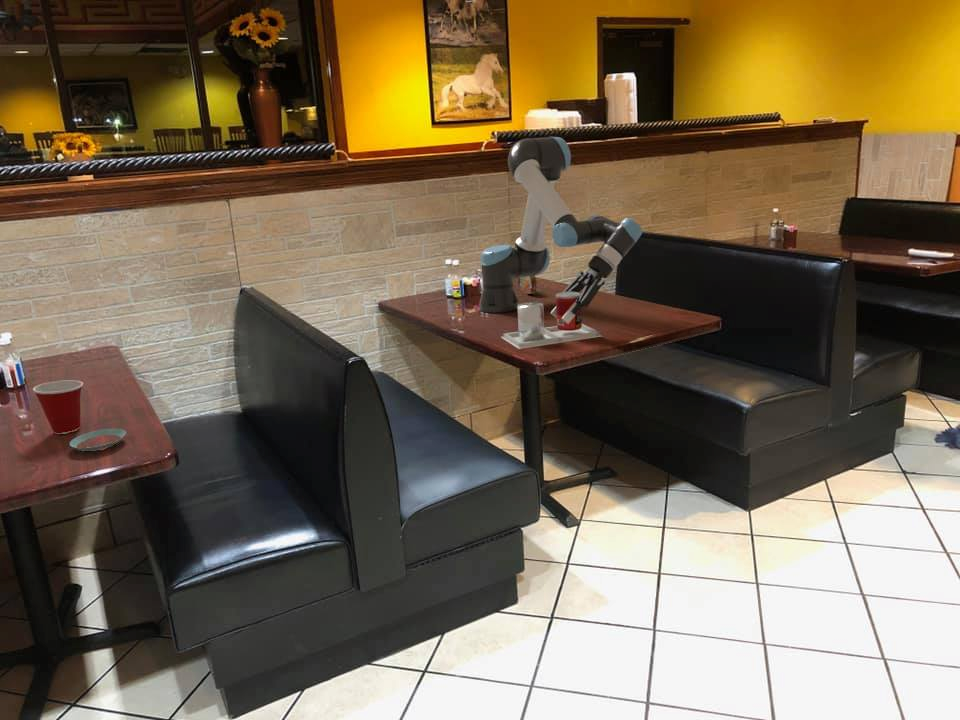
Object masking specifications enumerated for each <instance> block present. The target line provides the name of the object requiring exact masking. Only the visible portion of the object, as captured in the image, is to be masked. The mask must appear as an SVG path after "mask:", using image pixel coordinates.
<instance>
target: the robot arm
mask: <svg viewBox="0 0 960 720" xmlns="http://www.w3.org/2000/svg"><path fill="white" fill-rule="evenodd" d="M571 157H572V156H571V150H570V148H569V144H568V143H567V142H566V140H564V139H563V138H562V137H558V136H548V137H536V138H535V137H534V138H532V137H531V138H524V139H520V140H518V141H517V142H515V143H514V144H513V146H512V147H511V149H510V150H509V153H508V156H507V164H508V168H509V172H510V174H511V176H512V178H514V180H515V181H516V182H517V183H521V185H522V186H523V188H524V189H525V190H526V191H527V193H528V194H527V199H526V200H527V201H526V205H525V209H524V217H523V221H522V229H521V233H520V236H519V237H517V238H516V240H515V244H514V247H512V246H511V245H510V244H500V245H493V246H489V247H487V248H485V249H484V250H483V251H482V252H481V254H480V255H481V256H480V257H481V258H480V266H481V277H482V278H481V279H482V293H481V294H480V296H481V297H480V298H479V304H478V305H479V306H478V307H479V311H481V312H483V313H507V312H513V311H516V310H518V307H517V306H518V305H519V304H520V302H519V301H520V300H519V299H518V296H517V294H516V291H515V287H514V279H519V278H521V277H527V276H535V277H536V276H537V275H541V274H543V273H545V272H546V270H547V269H548V267H549V266H550V260H551V257H550V251H549V248H548V247H547V243H546V242H545V240H544V238H545V233H546V227H547V223H548V222H549V224H550V225H551V227H552V231H551V232H552V239H553V243H554V244H555V245H556V246H557V247H558V248H572V247H575V246H580V245H581V246H582V245H588V244H589V245H590V244H595V243H596V244H597V243H603V244H602V245H601V247H600V248H599V249H598V250H597V251H596V253H595V254H596V255H593V257H592V258H591V259H590V260H589V262H588V263H587V266H588V267H589V268H588V269H587V270H586V271H585V272H584V271H583V270H581V271H579V272H578V274H577V276H576V277H575V278H574V279H572V281H571V282H570V283H569V284H568V285H567V286H566V287H565V288H564V290H563V291H562V292H578V293H581V295H580V297H579V299H578V300H575V302H574V303H573V305H572V306H571V307H570V308H569V310H568V311H567V312H566V313H565V315H564V316H563V317H562V319H563V320H564V321H565V322H566V323H567V324H569V322H570V321H571V320H572V319H573V317H574V316H575V315H576V314H577V313H578V311H579V310H580V309H581V307H582V308H585V307H586V308H588V306H590V304H591V302H592V301H593V299H594V298H595V297H596V295H597V294H598V292H599V290H600V289H601V288H602V287H603V286H604V285H605V283H606V282H605V281H604V279H608V278H609V276H610V275H611V273H613V271H614V269H615V268H616V267H617V266H618V265H619V264H620V262H621V260H623V258H624V257H625V256H626V255H627V254H628V252H629V251H630V250H631V249H632V248H633V246H634V245H635V244H637V241H638V240H639V238H640V237H641V236H642V234H643V229H642V227H641V226H640V225H639V224H638V222H637V221H636V220H633V219H632V218H630V217H625V218H623V219H622V220H621V221H620V222H616V221H614V220H612V219H611V218H608V217H607V216H603V215H598V214H595V215H592V216H590V217H589V218H588V219H584V220H578V219H577V218H576V217H575V216H574V215H573V213H572V212H571V210H570V209H569V207H568V206H567V205H566V203H565V202H564V200H563V199H562V198H561V197H560V195H559V194H558V192H557V191H556V189H554V187H555V183H556V182H558V181H559V180H560V179H561V175H562V172H563V171H566V170H567V169H568V168H569V167H570V165H571V159H572V158H571ZM576 302H577V303H576ZM515 309H516V310H515ZM512 310H513V311H512ZM550 314H551V315H552V316H554V317H553V318H556V319H557V315H556V306H555V307H554V308H553V309H552V310H551V312H550Z"/></svg>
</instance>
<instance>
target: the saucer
mask: <svg viewBox="0 0 960 720" xmlns="http://www.w3.org/2000/svg"><path fill="white" fill-rule="evenodd" d="M126 434H127V431H126V430H124V429H120V428H106V429H105V428H104V429H98V430H94V431H90V432H87V433H83V434H81V435H79V436H77V437H75V438H73V439H72V440H70V442H69V446H70V448H71V447H72V448H73V449H75V450H77V451H80V450H81V451H80V452H84V451H91V450H98V449H103V448H106V447H109V446H112V445H114V444H116V443H117V444H119V443H120V442H121V441H122V440H123V439H124V437H125V436H126ZM101 435H117V436H120V437H121V438H120V439H118V440H116V441H114V442H111V443H108V444H104V445H100V446H95V447H87V448H77V445H78V444H79V443H81V442H83V441H85V440H87V439H89V438H92V437H96V436H101ZM118 442H119V443H118ZM117 444H116V445H117Z"/></svg>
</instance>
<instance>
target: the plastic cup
mask: <svg viewBox="0 0 960 720" xmlns="http://www.w3.org/2000/svg"><path fill="white" fill-rule="evenodd" d="M83 386H84V382H83V381H80V380H74V379H72V380H71V379H66V380H65V379H64V380H55V381H51V382H50V381H49V382H48V381H47V382H44V383H41V384H37V385H36V386H34V387H33V388H32V391H33V393H34V394H35V395H36V397H37V399H38V400H37V401H38V402H39V404H40V405H41V407H42V411H43V412H44V415H45V417H46V420H47V422H48V423H49V425H50V427H51V430H52V431H53V433H54V432H56V433H62V432H68V431H72V430H75V429H77V428H79V427H80V428H81V394H82V393H81V391H82V387H83Z"/></svg>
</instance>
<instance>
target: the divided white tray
mask: <svg viewBox="0 0 960 720" xmlns="http://www.w3.org/2000/svg"><path fill="white" fill-rule="evenodd" d="M544 337H545V339H543V340H536V341H530V342H521V341H519V331H513V332H505V333H502V336H500V338H501V339H503V341H505V342H507V343H509V344H510V345H511V346H513V347H515V348H516V349H519V350H522V349H528V348H534V347H541V346H547V345H549V346H550V345H555V344H561V343H567V342H573V341H580V340H587V339H588V340H589V339H593V338H600V337H601V338H603V335H601V334H600V331H598V330H596V329H594V328H592V327H590V326H588V325H585V324H584V323H582V326H581V328H580V329H578V330H573V331H564V330H559V329H558V327H557V325H555V326H548V327H547V326H546V327H544Z"/></svg>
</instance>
